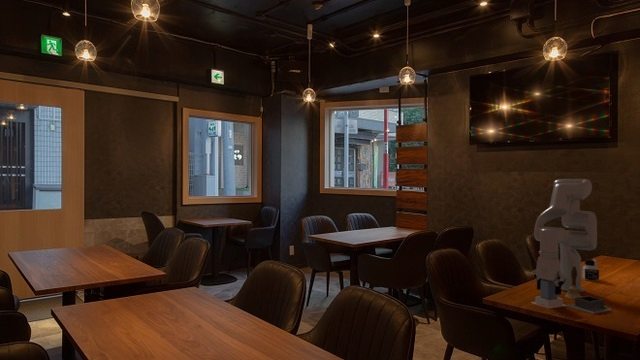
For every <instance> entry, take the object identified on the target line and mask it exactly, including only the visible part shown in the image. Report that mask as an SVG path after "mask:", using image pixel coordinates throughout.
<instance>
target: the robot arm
mask: <svg viewBox="0 0 640 360" xmlns="http://www.w3.org/2000/svg"><path fill="white" fill-rule="evenodd" d="M592 190H593V184H592V182H591V180H590V179H587V178H562V179H561V178H558V179H556V180H554V181H553V188H552V193H551V197H550V203H549V207H548V208H547V209H545V210H544V211H543V212H542V213H540V215H539V216H538V217H537V219H536V220H535V225H534V230H533V237H534V239H535V240H536V241H537V242H539V251H538V254H539V256H538V257H537V261H536V268H535V269H533V270H532V271H531V272H532V274H533V278H534V279H535V282H536V290H540V291H541V280H543V279H544V280H549V281H554V282H555V284H556V286H555V295H557V296H559V295H562V291H564V292H568V289H569V287H571V286H572V277H571V270H572V268H573V267H576V270H577V277H576V287H577V288H579V293H583V292H585V288H584V287H582V286H581V285H582V257H581V255H580V253H579V251H577V250H582V251H583V250H584V251H593V250H595V249H596V248H597V246H598V225H597V224H598V221H597V219H598V218H597V216H596V214H595V212H594V211H588V210H581V208H580V207H581V205H580V203H581V202H580V201H581V200H582V201H584V200H585V199H586V198H587V197H589V196H590V195H591V193H592ZM557 218H561V225H562V226H563V227H557V226H555V227H554V226H547V225H546V223H547V222H549V221H552V220H554V219H557ZM544 225H545V226H544ZM566 228H568V229H578V230H566ZM579 229H581V230H585V231H581V230H579ZM559 252H560V255H559ZM559 256H560V259H559Z"/></svg>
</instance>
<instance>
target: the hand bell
mask: <svg viewBox="0 0 640 360" xmlns="http://www.w3.org/2000/svg"><path fill="white" fill-rule="evenodd" d="M571 277H572V286H571V287H569V289H568V291H567V293H566V294H565V295H564V297H565V298H567V299H571V300H575V298H578V297H582V296H581V292H579V288H577V287H576V277H577V270H576V267H573V268H572V270H571Z"/></svg>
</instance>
